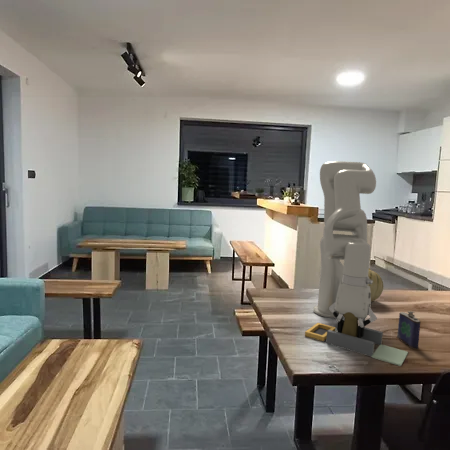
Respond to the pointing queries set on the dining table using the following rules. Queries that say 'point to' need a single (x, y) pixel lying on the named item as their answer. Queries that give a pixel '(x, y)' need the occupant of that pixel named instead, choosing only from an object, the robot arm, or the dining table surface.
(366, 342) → the grey parallel walls
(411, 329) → the flask
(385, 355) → the mat
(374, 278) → the cantaloupe
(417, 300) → the dining table surface
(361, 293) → the robot arm
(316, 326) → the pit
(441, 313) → the dining table surface
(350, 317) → the cork
